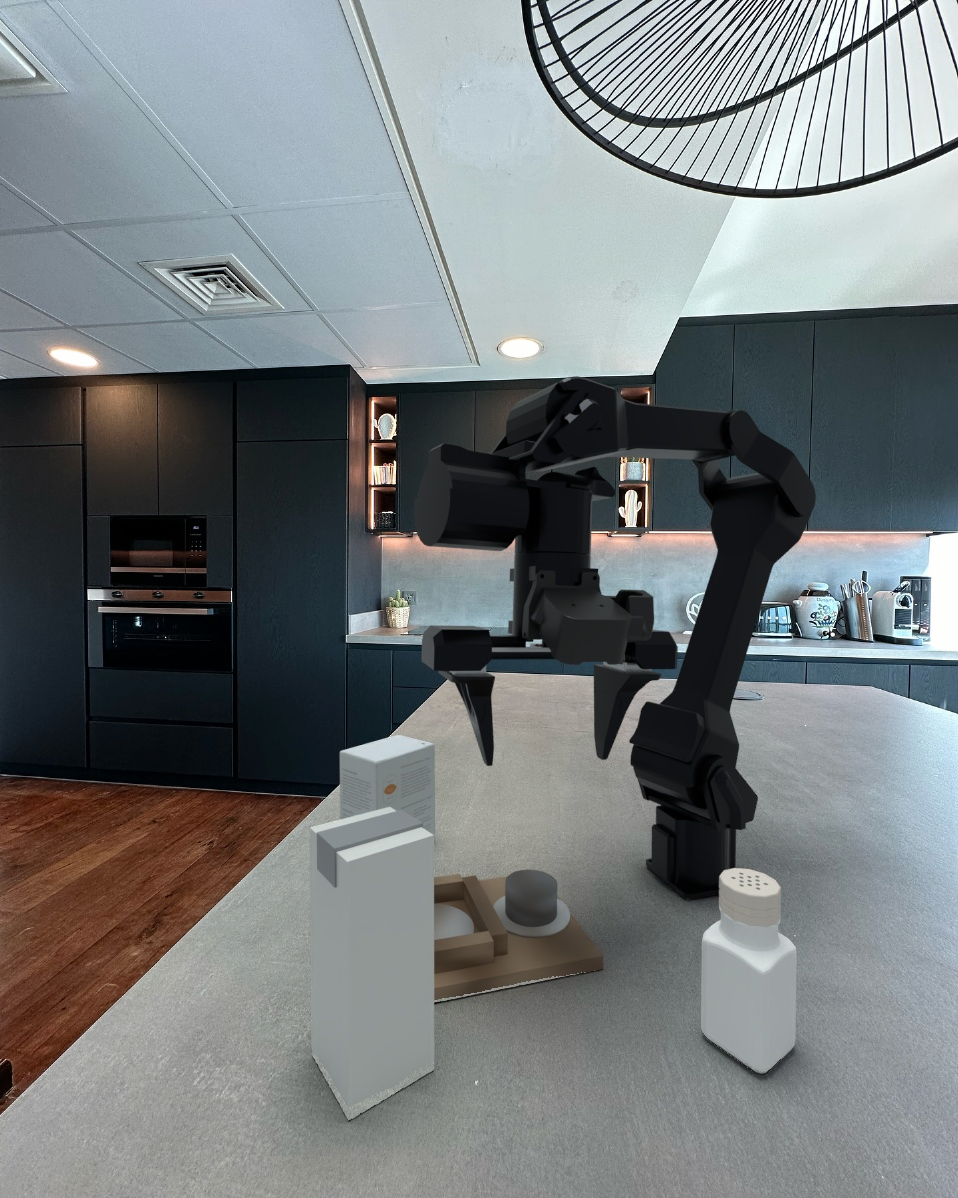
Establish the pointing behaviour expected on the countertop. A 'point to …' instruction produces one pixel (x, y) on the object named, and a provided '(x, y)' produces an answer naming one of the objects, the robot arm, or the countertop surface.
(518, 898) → the wooden holder board
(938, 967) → the countertop surface
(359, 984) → the tall white box
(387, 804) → the small box
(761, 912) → the salt shaker
